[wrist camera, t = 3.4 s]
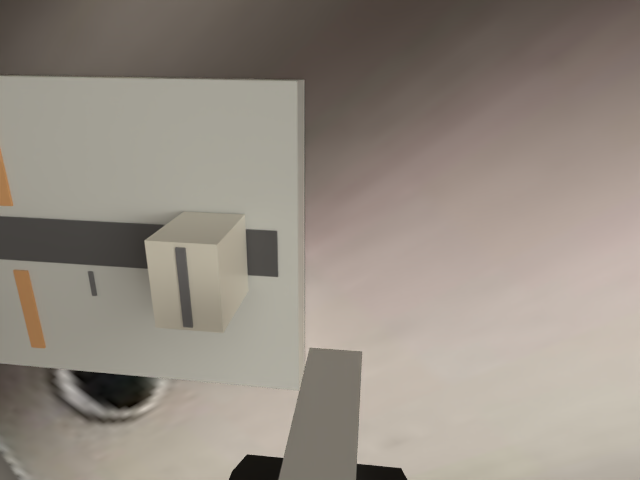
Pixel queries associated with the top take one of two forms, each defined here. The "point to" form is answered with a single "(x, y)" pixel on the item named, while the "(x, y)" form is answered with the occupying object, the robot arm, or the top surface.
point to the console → (148, 221)
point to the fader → (198, 271)
